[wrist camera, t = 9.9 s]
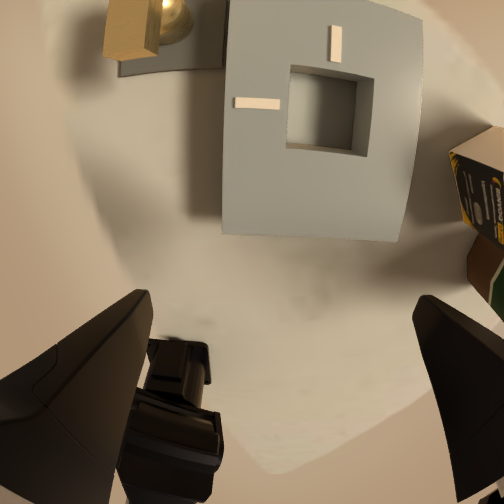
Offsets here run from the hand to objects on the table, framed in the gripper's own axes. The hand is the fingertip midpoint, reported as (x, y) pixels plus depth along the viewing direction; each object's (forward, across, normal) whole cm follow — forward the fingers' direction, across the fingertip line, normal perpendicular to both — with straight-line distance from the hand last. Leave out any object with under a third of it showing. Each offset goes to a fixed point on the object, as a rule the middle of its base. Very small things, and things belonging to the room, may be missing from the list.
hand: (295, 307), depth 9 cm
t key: (+12, +7, -12) cm, 18 cm away
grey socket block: (+12, -3, -6) cm, 14 cm away
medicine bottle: (+13, -19, -4) cm, 23 cm away
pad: (+12, +7, -12) cm, 19 cm away
